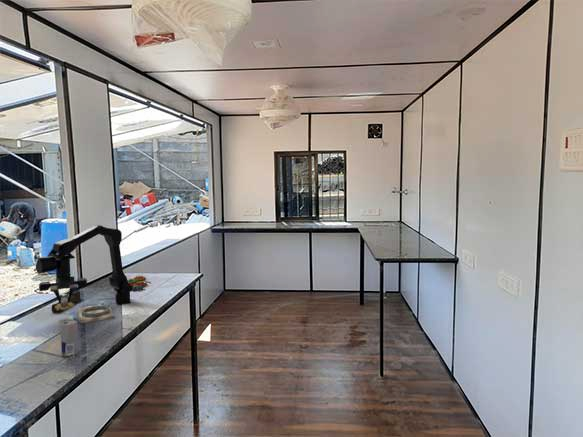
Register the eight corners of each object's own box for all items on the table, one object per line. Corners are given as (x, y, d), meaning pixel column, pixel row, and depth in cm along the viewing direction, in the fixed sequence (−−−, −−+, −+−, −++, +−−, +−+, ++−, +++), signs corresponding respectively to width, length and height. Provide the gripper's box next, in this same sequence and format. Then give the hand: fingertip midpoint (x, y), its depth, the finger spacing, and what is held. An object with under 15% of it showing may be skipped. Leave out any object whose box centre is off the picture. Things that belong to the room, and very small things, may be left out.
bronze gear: (74, 304, 183) (73, 291, 183) (74, 308, 177) (73, 295, 176) (55, 306, 179) (54, 293, 179) (54, 311, 173) (54, 298, 172)
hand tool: (61, 313, 186) (60, 302, 186) (51, 313, 186) (50, 302, 186) (86, 299, 209) (86, 289, 208) (77, 299, 209) (77, 289, 208)
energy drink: (66, 350, 146) (64, 319, 144) (81, 350, 146) (79, 319, 145) (58, 357, 140) (57, 325, 139) (74, 356, 141) (73, 324, 140)
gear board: (109, 305, 198) (109, 299, 197) (113, 318, 181) (113, 311, 180) (78, 310, 191) (77, 303, 190) (79, 323, 174) (79, 315, 173)
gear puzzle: (129, 279, 253) (129, 273, 253) (155, 278, 255) (155, 272, 255) (113, 292, 222) (113, 285, 222) (143, 292, 224) (142, 285, 224)
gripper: (37, 275, 165) (39, 310, 166) (87, 270, 174) (88, 304, 175) (39, 269, 174) (40, 303, 176) (86, 265, 184) (87, 298, 185)
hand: (64, 302), depth 178 cm, fingers closed on bronze gear, 3 cm apart
